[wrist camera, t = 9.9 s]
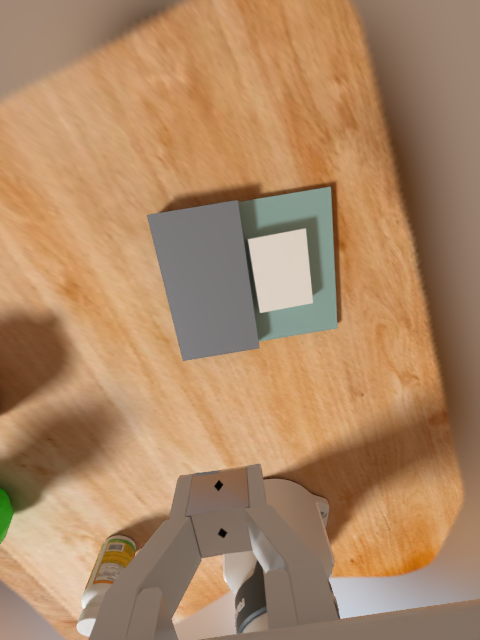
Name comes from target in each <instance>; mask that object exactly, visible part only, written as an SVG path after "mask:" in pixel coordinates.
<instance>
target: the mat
mask: <svg viewBox="0 0 480 640" xmlns="http://www.w3.org/2000/svg"><path fill="white" fill-rule="evenodd" d="M238 205H239V212H240V219H241V225H242V232H243V239H244V246H245V253H246V259H247V266H248V273H249V280H250V287H251V293H252V300H253V307H254V314H255V321H256V328H257V334H258V341H264V340H270V339H276V338H282V337H288V336H294V335H300V334H306V333H312V332H318V331H324V330H330V329H336V328H338V327H337V306H336V285H335V263H334V242H333V221H332V199H331V187H326V188H320V189H314V190H308V191H302V192H296V193H289V194H283V195H277V196H271V197H265V198H259V199H253V200H247V201H241V202H238ZM304 228H306V235H307V246H308V256H309V266H310V276H311V287H312V297H313V303H311V304H306V305H300V306H295V307H290V308H284V309H279V310H274V311H269V312H263V313H260V312H259V310H258V305H257V299H256V293H255V287H254V281H253V275H252V269H251V263H250V257H249V251H248V245H247V239H249V238H254V237H259V236H265V235H270V234H275V233H280V232H286V231H291V230H296V229H304Z"/></svg>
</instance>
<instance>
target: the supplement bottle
mask: <svg viewBox="0 0 480 640" xmlns="http://www.w3.org/2000/svg"><path fill="white" fill-rule="evenodd" d="M135 552H136V544H135V542H134V541H133V540H132V539H130V538H129V537H126V536H122V535H116V536H112V537H109V538H108V539H106V540H105V541H104V543H103V545H102V547H101V550H100V552H99V555H98V557H97V560H96V563H95V565H94V568H93V570H92V573H91V575H90V578H89V580H88V583H87V585H86V588H85V591H84V593H83V596H82V606H83V608H84V609H83V611H82V613H81V615H80V618H79V621H78V623H77V630H78V632H79V633H80V634H82V635H84V636H88V637H90V634H91V632H92V629H93V626H94V623H95V620H96V618H97V615H98V612H99V609H100V606H101V604H102V601H103V598H104V595H105V593H106V591H107V590H108V589H109V588H110V586H111V585H112V584H113V583H114V582H115V580H116V579H117V578H118V577H119V575H120V574H121V573H122V572H123V570H124V569H125V568H126V567H127V566H128V564H129V563H130V562H131V561H132V559H133V558H134V556H135Z"/></svg>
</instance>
